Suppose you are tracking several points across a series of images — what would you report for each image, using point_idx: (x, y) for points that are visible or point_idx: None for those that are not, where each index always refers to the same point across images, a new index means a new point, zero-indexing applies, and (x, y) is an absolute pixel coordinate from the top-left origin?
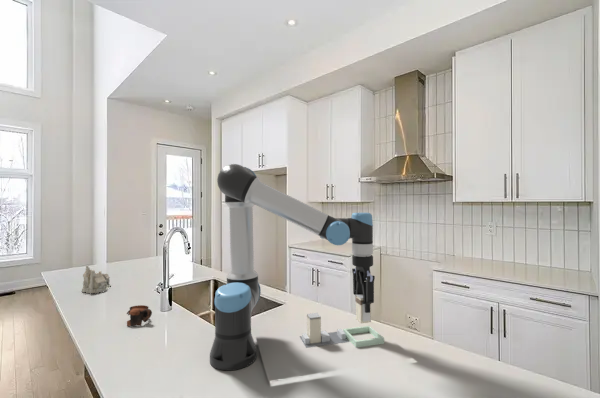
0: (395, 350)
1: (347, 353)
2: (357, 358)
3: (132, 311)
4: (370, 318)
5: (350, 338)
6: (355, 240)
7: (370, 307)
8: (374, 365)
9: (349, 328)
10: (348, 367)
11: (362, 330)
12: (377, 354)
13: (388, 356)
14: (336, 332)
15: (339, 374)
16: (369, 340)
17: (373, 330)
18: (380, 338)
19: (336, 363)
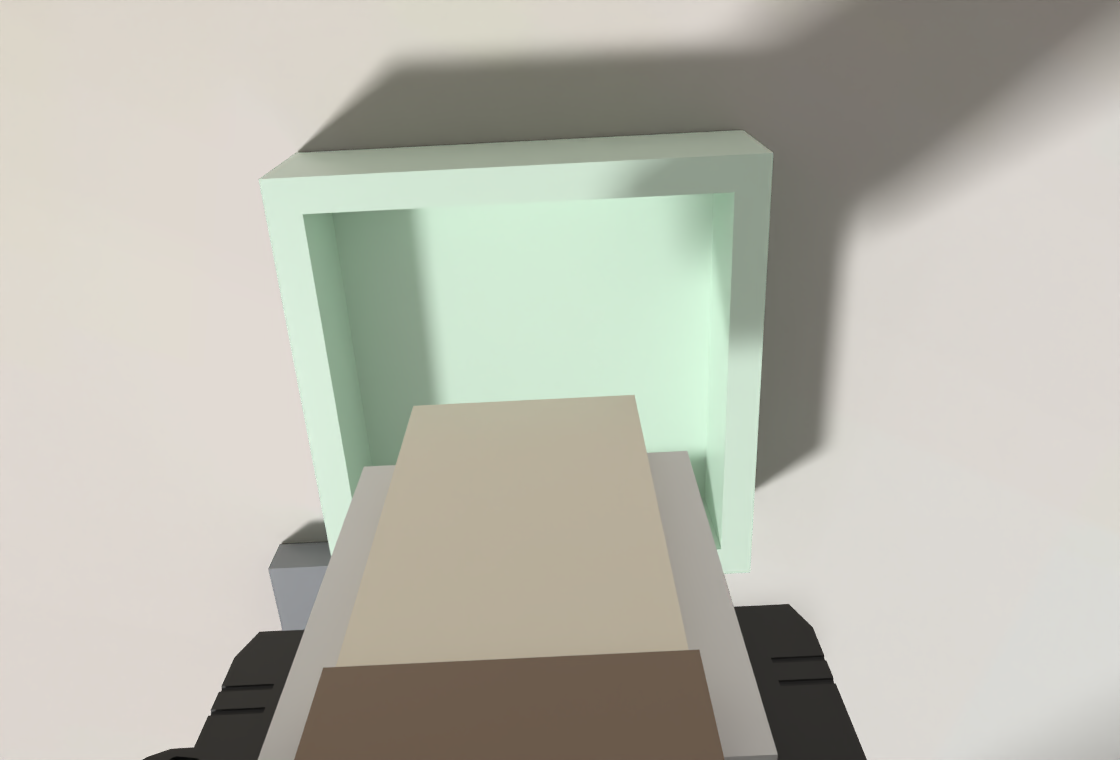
0: (890, 18)
1: (748, 598)
2: (878, 544)
3: None
4: (641, 441)
5: None
6: None
7: (674, 593)
8: (1073, 441)
9: (334, 513)
10: (988, 664)
11: (331, 305)
12: (888, 311)
13: (985, 202)
14: (299, 608)
15: (1048, 751)
16: (757, 392)
17: (466, 197)
18: (769, 221)
19: (883, 729)
